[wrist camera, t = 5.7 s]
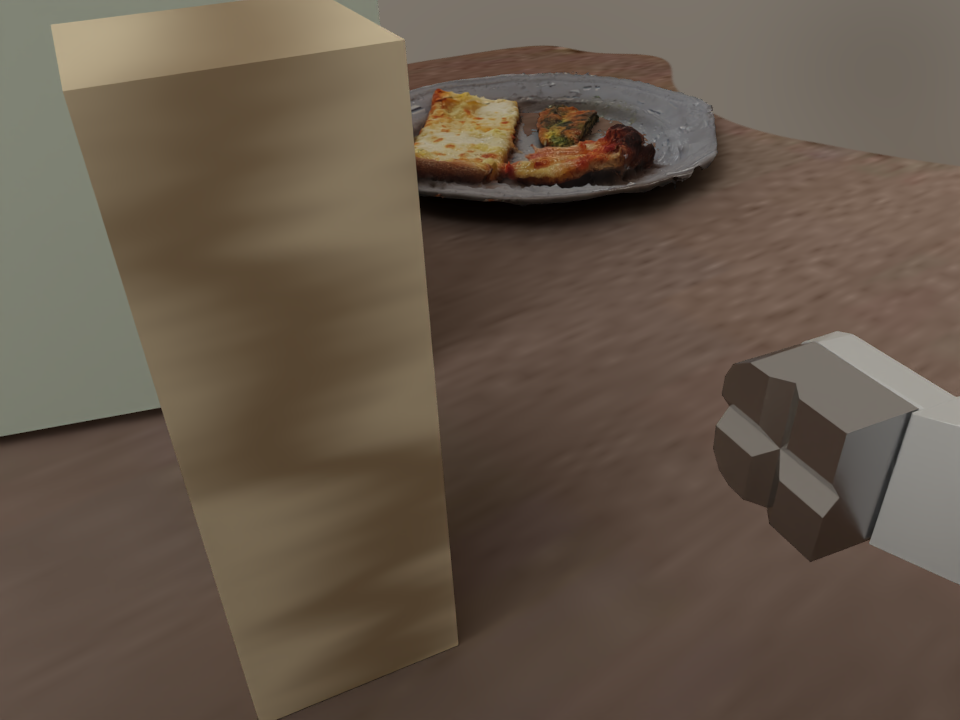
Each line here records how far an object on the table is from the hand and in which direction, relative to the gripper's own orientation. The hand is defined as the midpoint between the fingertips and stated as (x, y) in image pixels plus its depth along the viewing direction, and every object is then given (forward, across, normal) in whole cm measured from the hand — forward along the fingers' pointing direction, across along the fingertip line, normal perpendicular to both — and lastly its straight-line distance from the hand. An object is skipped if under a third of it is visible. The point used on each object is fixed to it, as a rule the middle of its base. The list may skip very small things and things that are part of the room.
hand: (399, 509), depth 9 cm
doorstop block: (+11, -1, +13) cm, 17 cm away
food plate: (+42, -24, +13) cm, 50 cm away
